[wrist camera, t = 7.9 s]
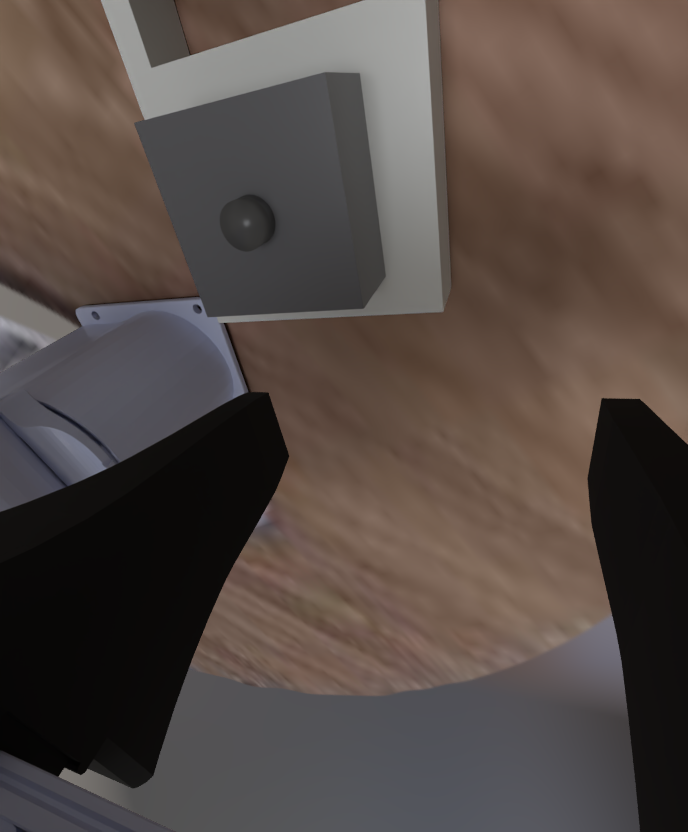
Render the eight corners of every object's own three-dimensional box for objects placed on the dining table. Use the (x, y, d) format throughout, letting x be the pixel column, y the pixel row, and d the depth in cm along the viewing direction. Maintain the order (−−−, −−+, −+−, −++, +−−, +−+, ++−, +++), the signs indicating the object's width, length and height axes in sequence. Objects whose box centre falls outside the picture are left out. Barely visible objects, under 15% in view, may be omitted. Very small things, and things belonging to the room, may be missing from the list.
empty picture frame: (245, 301, 22) (167, 364, 17) (38, -345, 12) (-294, -634, 7) (451, 287, 18) (426, 362, 13) (408, -659, 8) (249, -1698, 3)
